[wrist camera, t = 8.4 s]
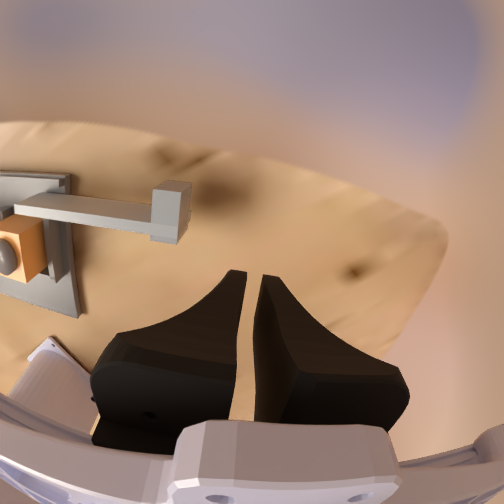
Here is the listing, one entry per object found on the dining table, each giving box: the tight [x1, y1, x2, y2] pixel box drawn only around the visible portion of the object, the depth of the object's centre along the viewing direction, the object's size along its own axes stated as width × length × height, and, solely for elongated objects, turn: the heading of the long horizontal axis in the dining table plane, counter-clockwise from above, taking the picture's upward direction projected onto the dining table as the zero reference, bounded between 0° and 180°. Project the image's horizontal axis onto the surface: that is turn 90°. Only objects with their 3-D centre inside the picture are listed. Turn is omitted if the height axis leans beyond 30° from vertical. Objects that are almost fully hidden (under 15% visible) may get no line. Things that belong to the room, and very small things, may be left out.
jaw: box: [0, 214, 48, 284], centre depth 19 cm, size 4×4×5 cm
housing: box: [0, 171, 81, 318], centre depth 21 cm, size 14×13×2 cm
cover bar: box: [14, 180, 192, 245], centre depth 17 cm, size 13×3×4 cm, turn 81°
